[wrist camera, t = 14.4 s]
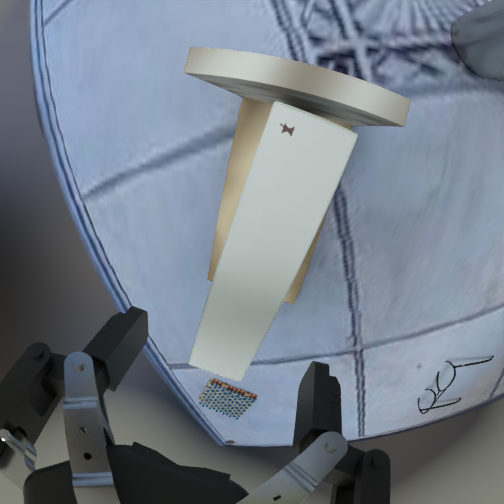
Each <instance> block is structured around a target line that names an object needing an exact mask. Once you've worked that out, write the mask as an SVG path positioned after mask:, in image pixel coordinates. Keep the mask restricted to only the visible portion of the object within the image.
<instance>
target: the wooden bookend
mask: <svg viewBox="0 0 504 504" xmlns="http://www.w3.org/2000/svg"><path fill="white" fill-rule="evenodd" d="M184 73H186V74H189V75H191V76H194V77H196V78H199V79H201V80H204V81H206V82H209V83H211V84H213V85H216V86H218V87H220V88H223V89H225V90H227V91H230V92H232V93H234V94H236V95H238V96H240V97H243V99H242V103H241V108H240V112H239V116H238V121H237V125H236V130H235V135H234V139H233V144H232V149H231V154H230V158H229V163H228V168H227V173H226V178H225V183H224V189H223V194H222V199H221V204H220V210H219V215H218V221H217V226H216V232H215V238H214V244H213V249H212V255H211V261H210V268H209V274H208V280H210V281H213V278H214V275H215V271H216V268H217V265H218V262H219V259H220V256H221V253H222V250H223V247H224V244H225V241H226V238H227V235H228V232H229V229H230V226H231V223H232V220H233V217H234V214H235V211H236V208H237V205H238V202H239V199H240V196H241V193H242V190H243V187H244V184H245V181H246V178H247V176H248V173H249V170H250V167H251V164H252V161H253V158H254V156H255V153H256V150H257V147H258V144H259V141H260V138H261V136H262V133H263V130H264V127H265V125H266V122H267V119H268V117H269V114H270V111H271V108H272V105H273V103H274V102H275V101H278V102H281V103H284V104H287V105H290V106H293V107H296V108H298V109H301V110H304V111H306V112H309V113H311V114H314V115H316V116H319V117H321V118H324V119H326V120H329V121H331V122H333V123H336V124H338V125H340V126H342V127H344V128H346V129H348V130H350V131H351V129H352V126H399V127H404V126H405V122H406V118H407V114H408V110H409V106H410V101H411V100H410V99H407V98H405V97H403V96H401V95H399V94H396V93H394V92H391V91H389V90H387V89H384V88H382V87H379V86H377V85H374V84H371V83H369V82H366V81H363V80H360V79H357V78H354V77H351V76H348V75H345V74H342V73H339V72H336V71H332V70H329V69H325V68H322V67H318V66H314V65H311V64H307V63H302V62H298V61H294V60H289V59H284V58H279V57H274V56H269V55H263V54H257V53H250V52H243V51H235V50H226V49H215V48H201V47H190V48H189V52H188V56H187V60H186V64H185V69H184ZM328 207H329V206H328ZM327 210H328V209H327ZM326 213H327V211H326ZM326 213H325V215H324V218H323V220H322V222H321V224H320V226H319V228H318V231H317V233H316V235H315V237H314V239H313V241H312V243H311V246H310V248H309V250H308V252H307V254H306V256H305V258H304V260H303V262H302V264H301V267H300V269H299V271H298V273H297V275H296V277H295V279H294V281H293V283H292V285H291V287H290V289H289V291H288V293H287V295H286V297H285V299H284V302H288V303H292V304H294V303H295V301H296V298H297V295H298V293H299V290H300V287H301V285H302V282H303V279H304V277H305V274H306V271H307V268H308V266H309V263H310V260H311V257H312V254H313V251H314V249H315V246H316V243H317V240H318V237H319V234H320V231H321V228H322V225H323V222H324V219H325V216H326Z"/></svg>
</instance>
